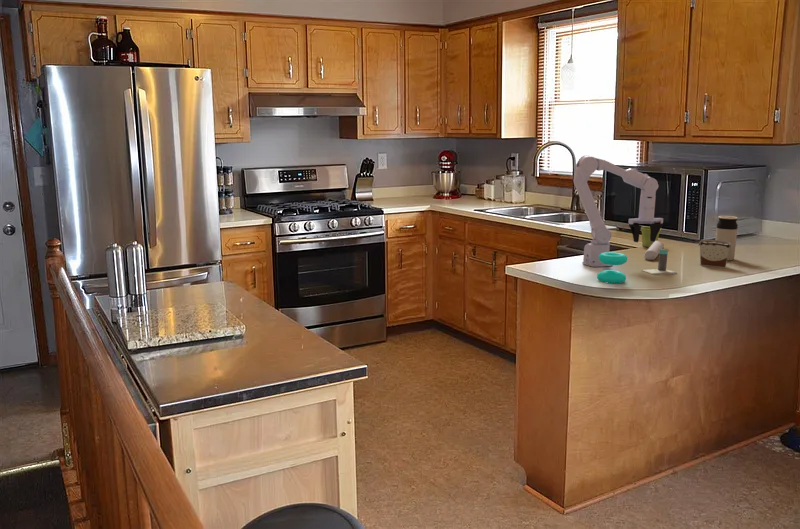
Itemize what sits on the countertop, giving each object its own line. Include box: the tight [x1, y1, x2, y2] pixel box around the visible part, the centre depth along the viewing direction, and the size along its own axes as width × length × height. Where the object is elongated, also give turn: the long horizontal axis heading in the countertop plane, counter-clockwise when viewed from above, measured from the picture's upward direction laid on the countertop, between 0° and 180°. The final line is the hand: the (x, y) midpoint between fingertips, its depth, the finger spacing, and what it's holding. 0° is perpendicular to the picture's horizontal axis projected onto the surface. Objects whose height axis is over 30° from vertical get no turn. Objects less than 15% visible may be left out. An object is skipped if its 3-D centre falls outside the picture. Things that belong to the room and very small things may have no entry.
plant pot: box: [640, 226, 662, 248], centre depth 332 cm, size 9×9×9 cm
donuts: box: [596, 251, 628, 284], centre depth 257 cm, size 10×10×10 cm
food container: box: [698, 239, 732, 269], centre depth 289 cm, size 12×6×10 cm, turn 59°
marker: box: [657, 248, 669, 271], centre depth 276 cm, size 3×3×8 cm
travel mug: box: [714, 215, 738, 261], centre depth 302 cm, size 8×8×18 cm
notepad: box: [641, 268, 678, 276], centre depth 274 cm, size 10×8×1 cm
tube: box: [644, 240, 665, 261], centre depth 309 cm, size 5×5×25 cm
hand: (644, 241), depth 285 cm, fingers open, 7 cm apart
